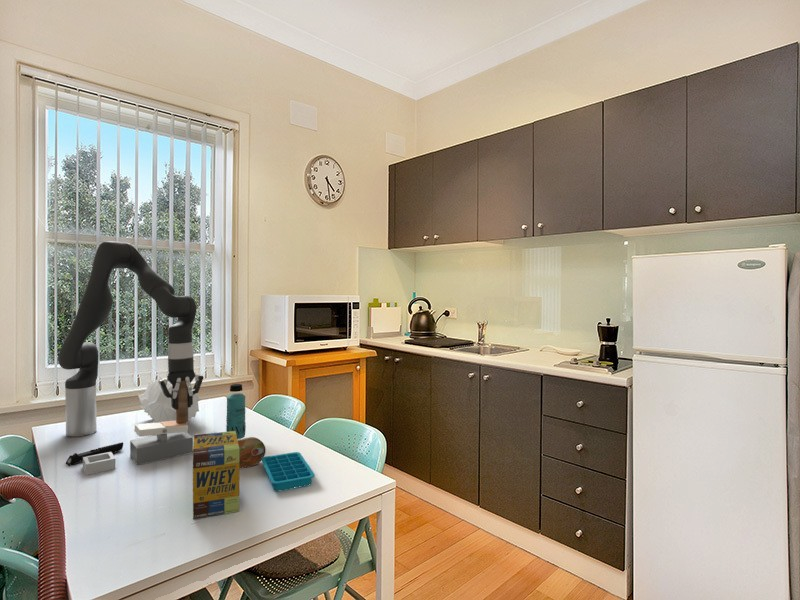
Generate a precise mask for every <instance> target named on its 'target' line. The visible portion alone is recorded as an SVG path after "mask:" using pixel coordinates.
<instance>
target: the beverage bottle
mask: <svg viewBox="0 0 800 600" xmlns="http://www.w3.org/2000/svg"><path fill="white" fill-rule="evenodd" d="M242 391H243V384H242V383H232V384H230V387H229V392H232V393H230V394H229V395H228V396H226V419H225V421H226V428H225V431H226V432H229V431H236V435H237V439H243V438H246V429H247V428H246V427H247V426H246V395H245V394H243V393H242Z"/></svg>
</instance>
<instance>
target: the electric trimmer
mask: <svg viewBox="0 0 800 600" xmlns="http://www.w3.org/2000/svg"><path fill="white" fill-rule="evenodd" d="M123 448H124V442H117V443H114V444H113V443H112V444H110V445H105V446H102V447H98V448H94V449H90V450H88V451H84V452H80V453H77V452H74V453H73V454H72V455H69V456H68V458H67V459H66V460H65V461H66V462H65V464H66V465H67V466H69V467H70V466H75V464H78V463H81V462H82V463H83V457H87V456H92V455H97V454H102V453H107V452H112V454H113V453H116V452H119V451H122V450H123Z"/></svg>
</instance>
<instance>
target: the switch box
mask: <svg viewBox="0 0 800 600" xmlns="http://www.w3.org/2000/svg"><path fill="white" fill-rule="evenodd" d="M129 443H130V445H129V446H130V447H129V448H130V449H129V450H130V453H129V455H130V457H131V459H132V460H133V462H134V463H135V464H136V465H137V466H139V465H144V464H149V463H153V462H158V461H161V460H165V459H166V458H167V459H171V458H174V457H179V456H184V455H188V454H193V443H194V436H192V435H191V434H189V433H188V431H186V432H177V433H168V434H158V435H149V436H143V437H139V438H135V439H130V440H129Z"/></svg>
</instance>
